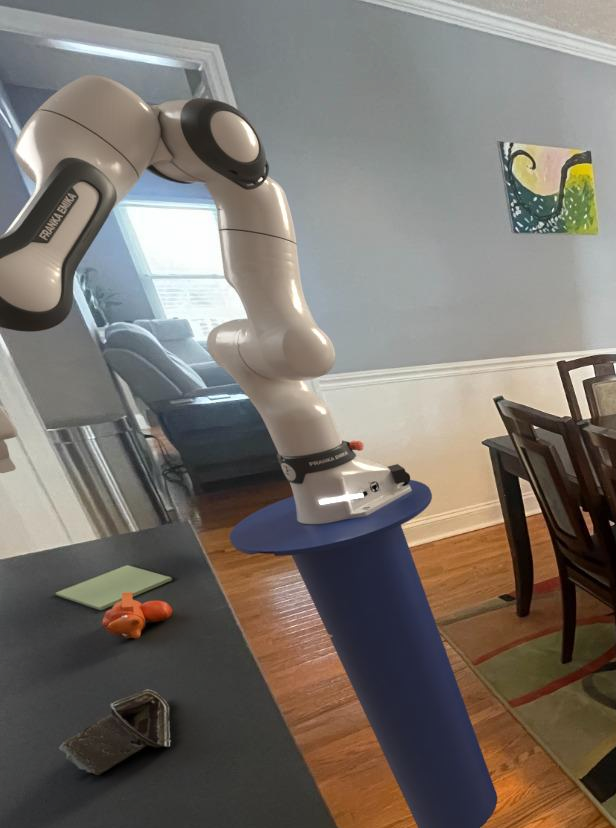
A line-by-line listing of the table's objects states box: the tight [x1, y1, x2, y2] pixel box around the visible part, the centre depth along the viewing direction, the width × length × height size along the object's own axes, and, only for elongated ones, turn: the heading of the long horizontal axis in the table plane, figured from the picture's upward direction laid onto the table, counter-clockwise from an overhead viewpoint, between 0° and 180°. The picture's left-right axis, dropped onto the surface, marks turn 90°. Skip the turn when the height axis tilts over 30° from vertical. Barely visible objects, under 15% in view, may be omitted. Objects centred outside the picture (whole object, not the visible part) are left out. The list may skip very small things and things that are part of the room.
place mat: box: [55, 564, 173, 611], centre depth 103 cm, size 10×14×1 cm
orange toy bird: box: [101, 592, 173, 639], centre depth 91 cm, size 5×8×12 cm
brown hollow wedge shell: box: [58, 688, 172, 776], centre depth 68 cm, size 10×7×12 cm
